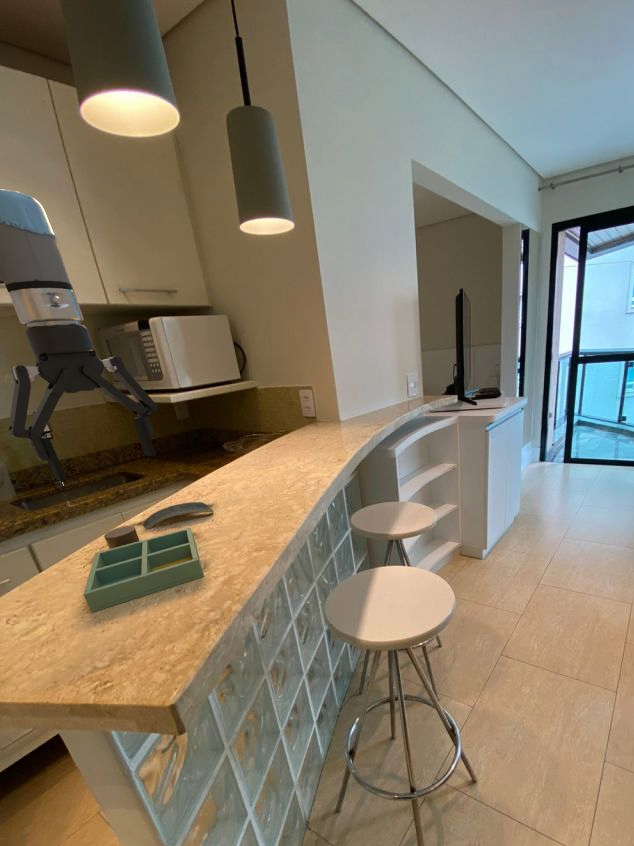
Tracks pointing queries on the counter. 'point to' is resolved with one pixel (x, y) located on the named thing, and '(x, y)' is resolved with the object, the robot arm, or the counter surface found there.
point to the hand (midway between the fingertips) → (109, 466)
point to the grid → (142, 569)
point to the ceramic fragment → (175, 512)
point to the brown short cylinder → (121, 536)
